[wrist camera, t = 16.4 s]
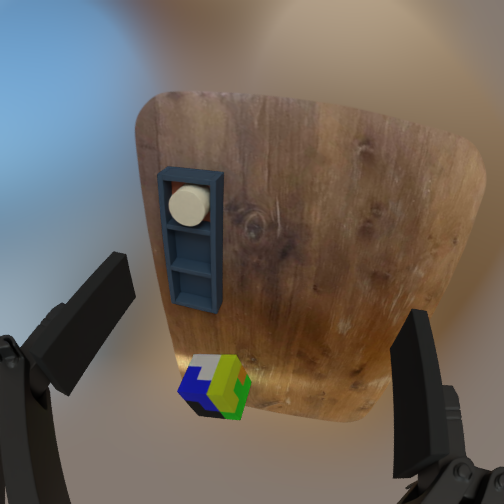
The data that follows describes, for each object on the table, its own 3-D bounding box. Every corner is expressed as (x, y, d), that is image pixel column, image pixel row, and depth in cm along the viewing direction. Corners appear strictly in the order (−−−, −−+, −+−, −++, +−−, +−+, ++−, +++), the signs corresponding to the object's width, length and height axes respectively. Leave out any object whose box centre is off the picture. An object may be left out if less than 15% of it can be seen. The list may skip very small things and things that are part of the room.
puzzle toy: (193, 354, 63) (177, 391, 55) (236, 354, 60) (222, 395, 52) (211, 380, 68) (198, 415, 60) (251, 382, 64) (240, 420, 56)
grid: (223, 172, 39) (216, 180, 36) (222, 301, 52) (217, 314, 49) (167, 166, 40) (156, 174, 38) (178, 291, 53) (171, 303, 51)
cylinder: (214, 182, 39) (204, 193, 36) (213, 216, 42) (204, 229, 39) (179, 178, 40) (167, 188, 37) (180, 211, 43) (169, 223, 40)
